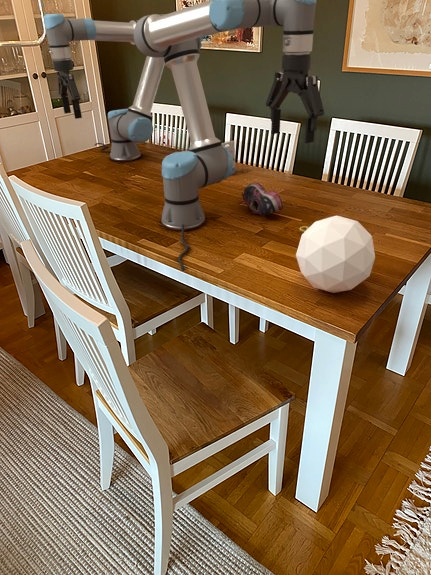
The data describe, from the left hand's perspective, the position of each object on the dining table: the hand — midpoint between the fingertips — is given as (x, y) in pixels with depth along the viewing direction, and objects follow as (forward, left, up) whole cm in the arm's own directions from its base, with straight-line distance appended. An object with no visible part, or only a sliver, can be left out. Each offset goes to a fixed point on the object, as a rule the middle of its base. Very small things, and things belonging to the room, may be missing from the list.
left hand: (73, 115), depth 187 cm
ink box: (+55, +32, -27) cm, 69 cm away
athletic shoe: (+87, +1, -27) cm, 91 cm away
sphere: (+128, -35, -27) cm, 135 cm away
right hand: (+106, -15, +5) cm, 107 cm away
